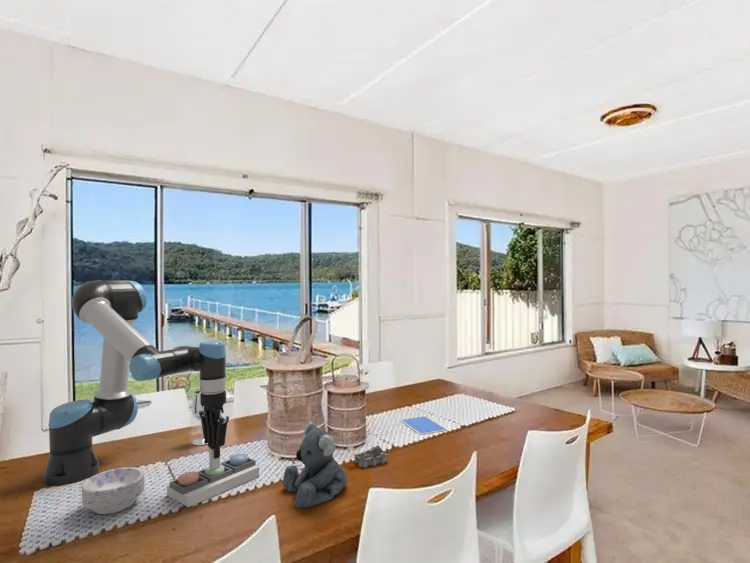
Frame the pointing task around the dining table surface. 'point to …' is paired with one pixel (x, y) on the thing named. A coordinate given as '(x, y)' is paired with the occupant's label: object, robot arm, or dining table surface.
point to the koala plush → (315, 469)
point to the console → (213, 483)
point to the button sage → (214, 471)
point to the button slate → (238, 459)
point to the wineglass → (197, 414)
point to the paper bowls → (113, 490)
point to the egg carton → (370, 457)
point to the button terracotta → (188, 478)
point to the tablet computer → (423, 425)
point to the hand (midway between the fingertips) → (214, 467)
